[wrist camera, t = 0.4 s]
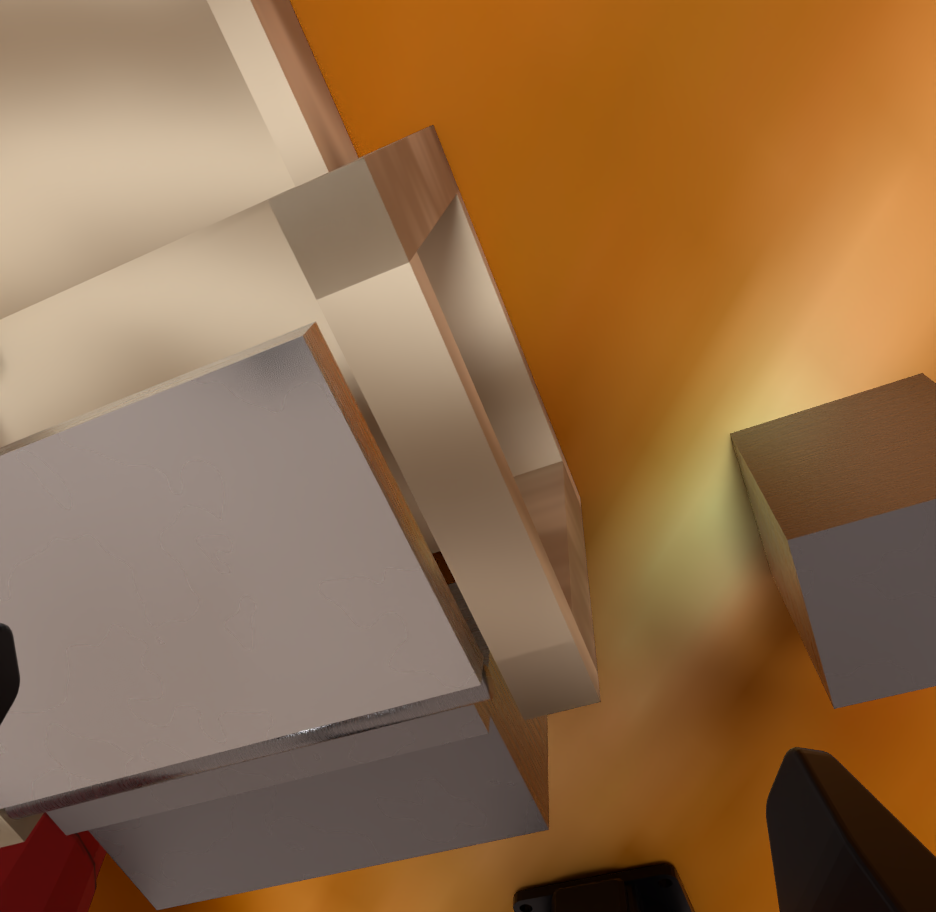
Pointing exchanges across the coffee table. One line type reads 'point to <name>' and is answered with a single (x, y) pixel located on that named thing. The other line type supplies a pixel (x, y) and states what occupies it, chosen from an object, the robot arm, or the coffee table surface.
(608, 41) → the coffee table surface
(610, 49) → the coffee table surface
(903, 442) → the block
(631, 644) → the coffee table surface
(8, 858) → the plastic cup
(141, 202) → the frame
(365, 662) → the trapdoor
